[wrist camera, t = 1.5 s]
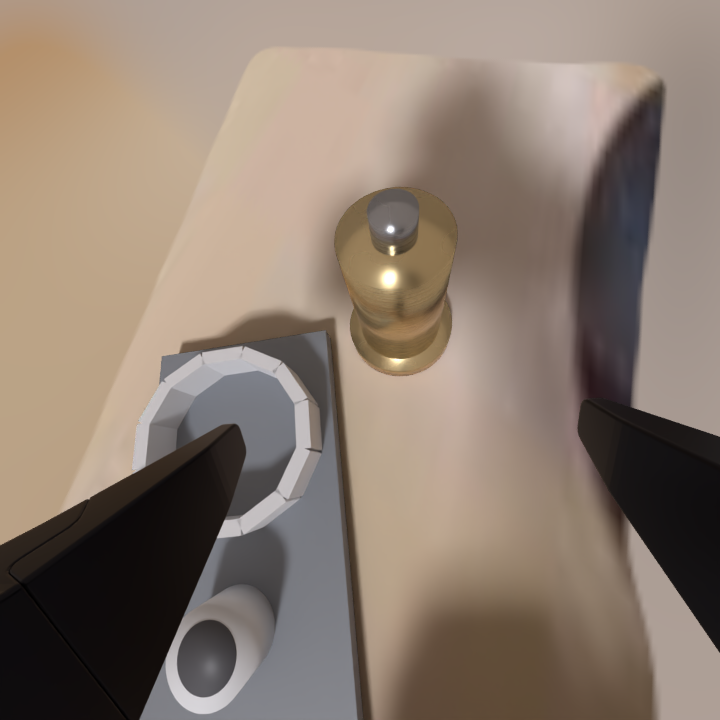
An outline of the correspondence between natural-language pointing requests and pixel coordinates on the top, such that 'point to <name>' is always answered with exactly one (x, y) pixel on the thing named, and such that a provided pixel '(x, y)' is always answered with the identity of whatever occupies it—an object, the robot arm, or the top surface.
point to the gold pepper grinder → (398, 277)
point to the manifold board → (262, 539)
